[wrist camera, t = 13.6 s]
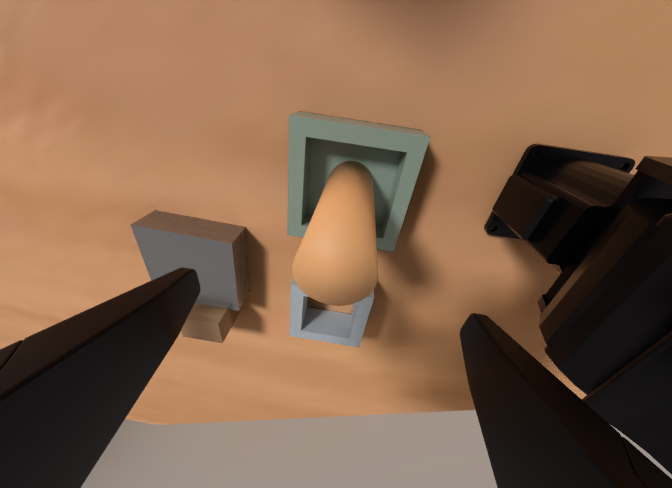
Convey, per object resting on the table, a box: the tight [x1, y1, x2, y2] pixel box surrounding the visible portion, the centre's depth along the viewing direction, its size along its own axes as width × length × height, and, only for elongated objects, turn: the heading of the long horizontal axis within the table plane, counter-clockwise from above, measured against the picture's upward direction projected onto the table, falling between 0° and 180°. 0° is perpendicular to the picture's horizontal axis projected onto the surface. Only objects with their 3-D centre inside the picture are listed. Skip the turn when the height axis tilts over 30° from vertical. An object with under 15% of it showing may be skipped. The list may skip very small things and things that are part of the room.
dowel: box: [292, 161, 378, 306], centre depth 13 cm, size 3×3×10 cm
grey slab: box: [131, 210, 250, 311], centre depth 22 cm, size 8×8×3 cm
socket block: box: [290, 278, 374, 347], centre depth 23 cm, size 7×7×3 cm
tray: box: [287, 111, 430, 252], centre depth 17 cm, size 8×8×2 cm
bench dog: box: [181, 303, 240, 343], centre depth 25 cm, size 4×3×4 cm
